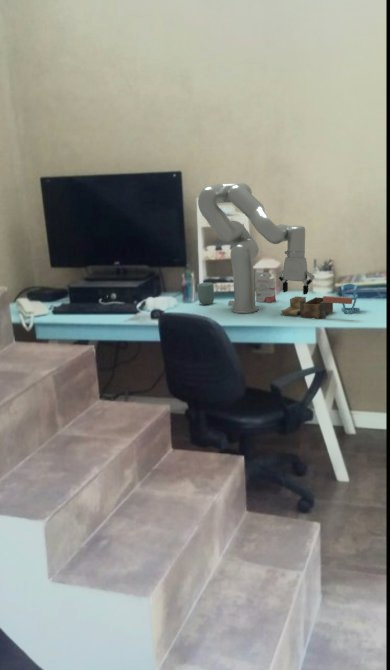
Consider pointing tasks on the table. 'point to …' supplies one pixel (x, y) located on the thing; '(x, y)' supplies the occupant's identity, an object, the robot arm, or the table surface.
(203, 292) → the cup
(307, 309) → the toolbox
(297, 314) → the mat
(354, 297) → the chair
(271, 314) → the table surface
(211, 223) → the robot arm
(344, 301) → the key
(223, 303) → the table surface
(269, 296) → the ink cartridge box
